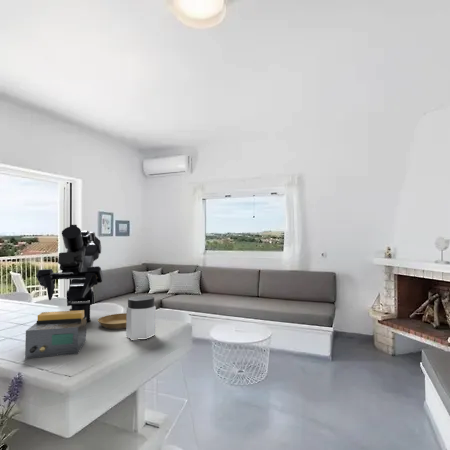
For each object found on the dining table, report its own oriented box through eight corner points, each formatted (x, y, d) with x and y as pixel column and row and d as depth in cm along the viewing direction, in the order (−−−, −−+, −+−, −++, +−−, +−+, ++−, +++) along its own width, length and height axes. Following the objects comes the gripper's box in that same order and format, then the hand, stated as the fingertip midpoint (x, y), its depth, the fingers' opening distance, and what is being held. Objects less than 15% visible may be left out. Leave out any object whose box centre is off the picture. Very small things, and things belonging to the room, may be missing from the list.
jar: (156, 332, 103) (157, 295, 104) (153, 340, 95) (154, 300, 96) (128, 333, 102) (129, 295, 103) (123, 341, 94) (123, 300, 95)
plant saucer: (115, 333, 103) (116, 325, 103) (88, 327, 111) (89, 319, 111) (149, 323, 115) (149, 316, 115) (123, 318, 123) (123, 311, 123)
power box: (40, 343, 92) (41, 316, 93) (86, 340, 95) (86, 314, 96) (23, 360, 80) (24, 328, 80) (76, 355, 83) (77, 325, 83)
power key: (42, 319, 92) (42, 312, 92) (84, 316, 95) (84, 310, 95) (37, 322, 88) (37, 315, 88) (81, 320, 91) (81, 313, 91)
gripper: (37, 244, 100) (23, 285, 89) (99, 241, 103) (94, 280, 92) (47, 266, 107) (35, 306, 96) (104, 263, 111) (99, 301, 100)
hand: (66, 298), depth 96 cm, fingers open, 9 cm apart
